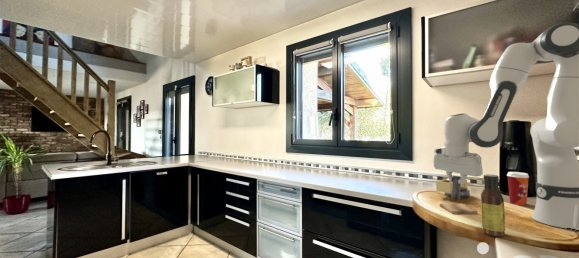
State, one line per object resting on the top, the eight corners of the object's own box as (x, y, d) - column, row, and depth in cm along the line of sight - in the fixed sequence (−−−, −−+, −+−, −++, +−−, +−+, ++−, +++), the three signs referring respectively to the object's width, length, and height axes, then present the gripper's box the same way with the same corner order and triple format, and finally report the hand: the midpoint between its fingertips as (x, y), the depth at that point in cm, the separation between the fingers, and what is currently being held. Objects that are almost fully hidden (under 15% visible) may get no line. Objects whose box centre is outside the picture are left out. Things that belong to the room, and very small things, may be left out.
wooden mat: (462, 205, 115) (462, 203, 115) (477, 213, 105) (477, 211, 105) (439, 205, 115) (439, 203, 115) (452, 213, 105) (452, 211, 105)
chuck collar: (452, 185, 137) (452, 176, 137) (471, 189, 129) (470, 179, 129) (434, 190, 130) (434, 180, 130) (452, 194, 122) (452, 183, 122)
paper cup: (525, 207, 110) (525, 175, 110) (504, 202, 117) (503, 172, 117) (532, 204, 114) (532, 173, 114) (511, 200, 121) (510, 170, 121)
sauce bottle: (509, 238, 82) (508, 177, 82) (488, 237, 84) (487, 177, 83) (497, 229, 89) (496, 173, 89) (477, 228, 90) (476, 173, 90)
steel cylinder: (455, 198, 112) (457, 175, 112) (461, 200, 109) (463, 177, 109) (449, 198, 111) (451, 175, 111) (455, 200, 109) (457, 177, 108)
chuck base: (461, 192, 136) (461, 186, 136) (475, 198, 125) (474, 192, 125) (440, 192, 137) (440, 186, 137) (451, 198, 126) (451, 192, 126)
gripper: (486, 153, 101) (486, 187, 101) (441, 148, 120) (441, 177, 121) (475, 154, 99) (475, 189, 99) (431, 149, 118) (431, 178, 119)
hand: (456, 182), depth 110 cm, fingers closed on steel cylinder, 3 cm apart
